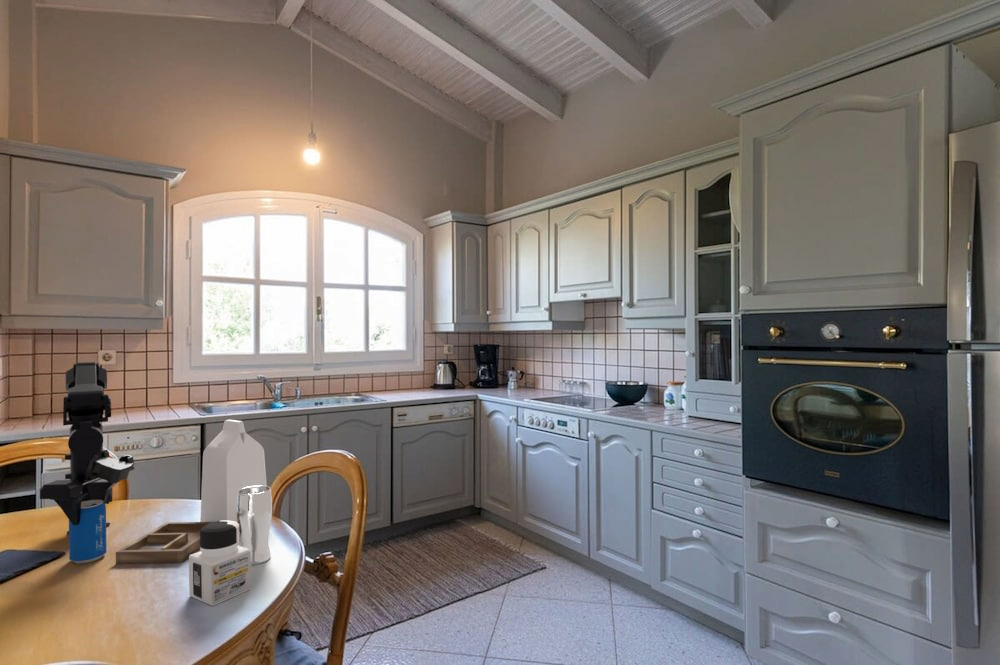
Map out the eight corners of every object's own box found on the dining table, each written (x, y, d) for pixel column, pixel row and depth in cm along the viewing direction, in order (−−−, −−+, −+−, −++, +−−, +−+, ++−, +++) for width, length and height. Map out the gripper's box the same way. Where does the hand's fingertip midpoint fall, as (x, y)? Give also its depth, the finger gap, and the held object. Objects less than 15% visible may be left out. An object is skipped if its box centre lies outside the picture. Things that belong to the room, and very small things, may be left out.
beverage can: (86, 566, 115) (85, 509, 115) (61, 563, 117) (60, 507, 117) (114, 553, 122) (113, 499, 122) (89, 551, 123) (89, 498, 123)
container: (212, 607, 97) (211, 534, 97) (188, 596, 101) (187, 526, 101) (252, 589, 104) (251, 521, 104) (228, 580, 108) (227, 514, 108)
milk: (269, 518, 144) (267, 419, 144) (227, 531, 134) (225, 426, 134) (242, 510, 151) (240, 416, 150) (200, 523, 141) (198, 422, 141)
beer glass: (279, 555, 120) (279, 486, 120) (256, 568, 113) (255, 495, 113) (254, 551, 122) (253, 484, 122) (229, 564, 116) (228, 493, 116)
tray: (166, 532, 134) (166, 521, 134) (223, 531, 134) (223, 520, 134) (115, 563, 116) (115, 550, 116) (182, 562, 116) (182, 549, 116)
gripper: (92, 457, 110) (93, 534, 110) (150, 438, 129) (151, 505, 129) (36, 458, 110) (37, 535, 110) (102, 439, 128) (103, 506, 128)
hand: (87, 519), depth 119 cm, fingers closed on beverage can, 6 cm apart
